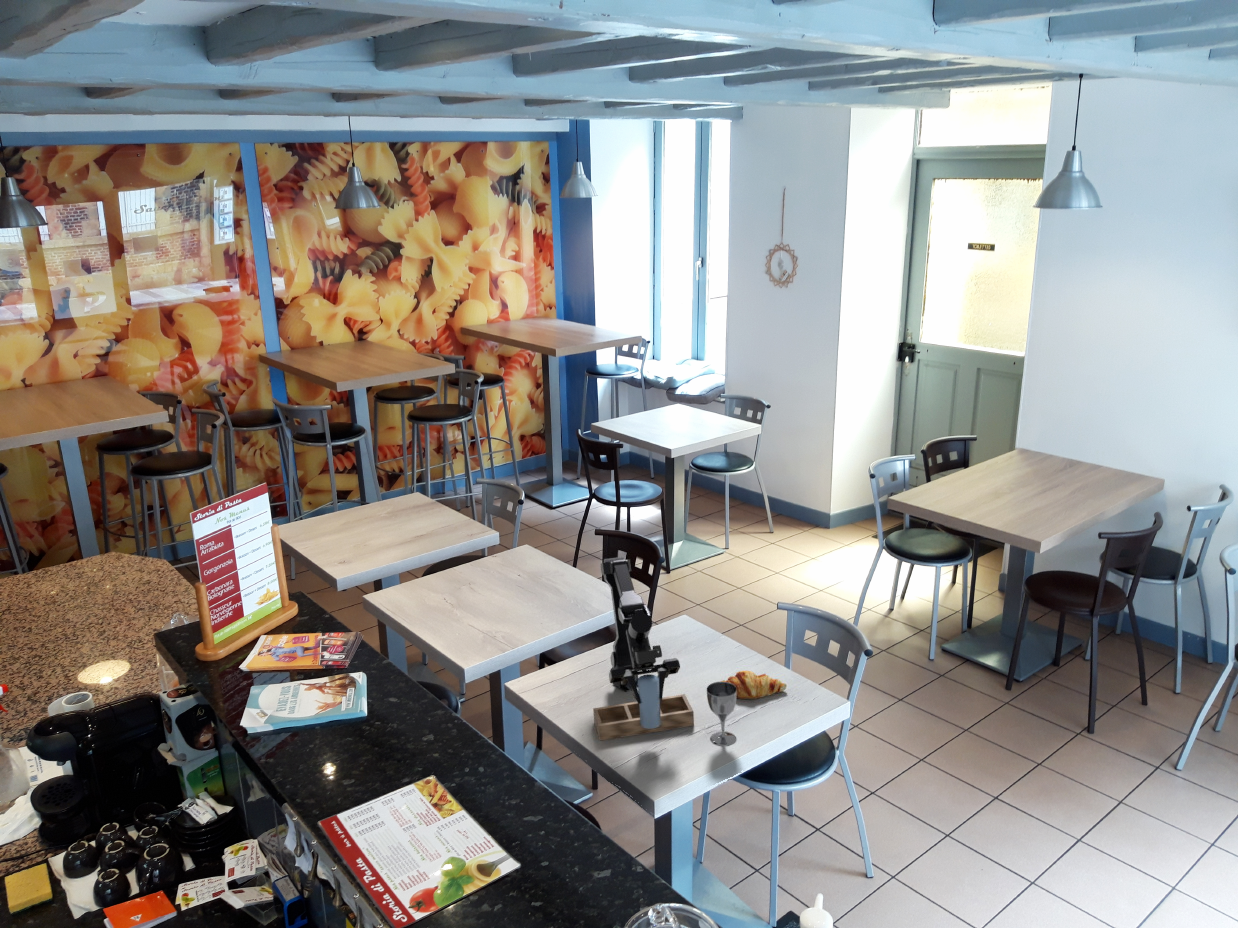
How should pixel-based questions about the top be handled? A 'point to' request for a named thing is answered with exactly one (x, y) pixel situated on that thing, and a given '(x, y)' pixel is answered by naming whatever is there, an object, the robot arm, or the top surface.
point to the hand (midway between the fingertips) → (650, 701)
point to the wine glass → (722, 709)
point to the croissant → (755, 685)
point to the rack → (627, 718)
